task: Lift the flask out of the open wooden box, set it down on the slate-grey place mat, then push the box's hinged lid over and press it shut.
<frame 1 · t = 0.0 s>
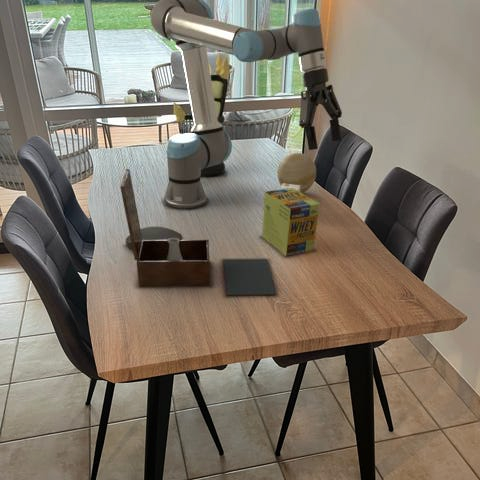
hand: (325, 145, 156), 28 cm above the table, tool tilted 20°, fingers open, 13 cm apart
flask: (175, 273, 143), resting in open wooden box
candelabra: (207, 169, 220), on the table
open wooden box: (175, 274, 143), on the table
lid: (132, 214, 132), point 18 cm above the table, hinge at 95.0°
place mat: (247, 277, 143), on the table
protein box: (287, 244, 162), on the table
light bulb box: (287, 219, 178), on the table
dark grey disc: (154, 245, 159), on the table
beige round ball: (295, 192, 200), on the table
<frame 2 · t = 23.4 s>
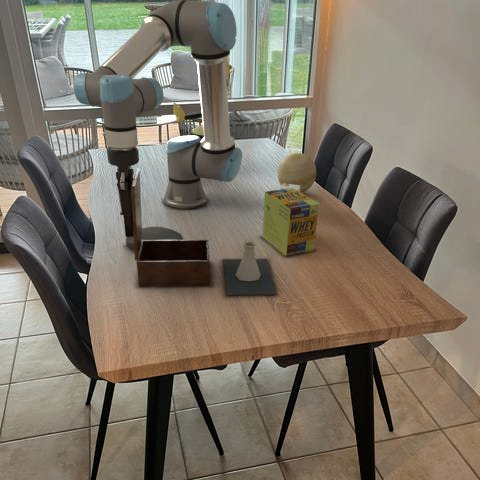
hand: (131, 235, 136), 12 cm above the table, tool pointing down, fingers closed
flask: (248, 276, 143), resting on place mat
lid: (137, 214, 133), point 18 cm above the table, hinge at 87.3°, touching gripper
everything else where it was.
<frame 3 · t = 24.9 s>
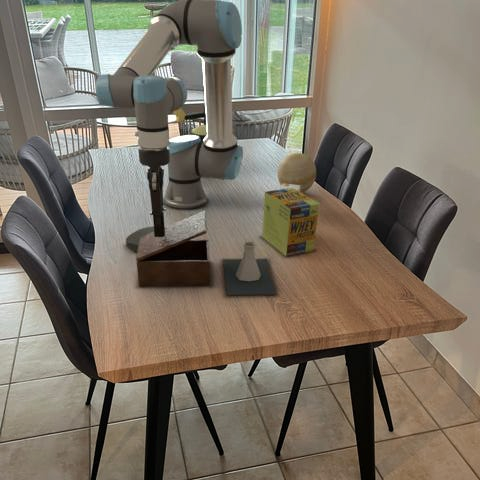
hand: (159, 235, 136), 12 cm above the table, tool pointing down, fingers closed
lid: (171, 235, 137), point 12 cm above the table, hinge at 23.5°
everything else where it was.
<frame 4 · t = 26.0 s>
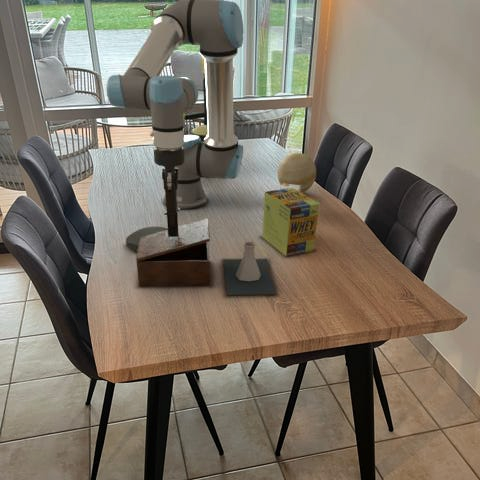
hand: (173, 235, 137), 12 cm above the table, tool pointing down, fingers closed
lid: (173, 239, 137), point 11 cm above the table, hinge at 16.5°, touching gripper
everything else where it was.
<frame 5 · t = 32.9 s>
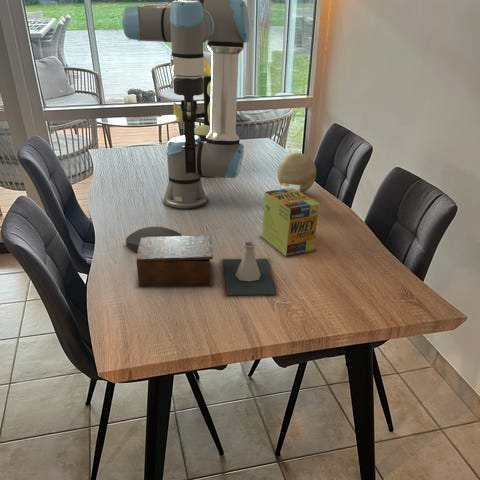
hand: (190, 172, 136), 26 cm above the table, tool pointing down, fingers closed
lid: (175, 247, 139), point 8 cm above the table, hinge at 1.5°
everything else where it was.
at the end: flask inside the target area (0.0 cm from its centre), resting on place mat; flask tilted 0°; lid at +2° (first picture: +95°) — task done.
